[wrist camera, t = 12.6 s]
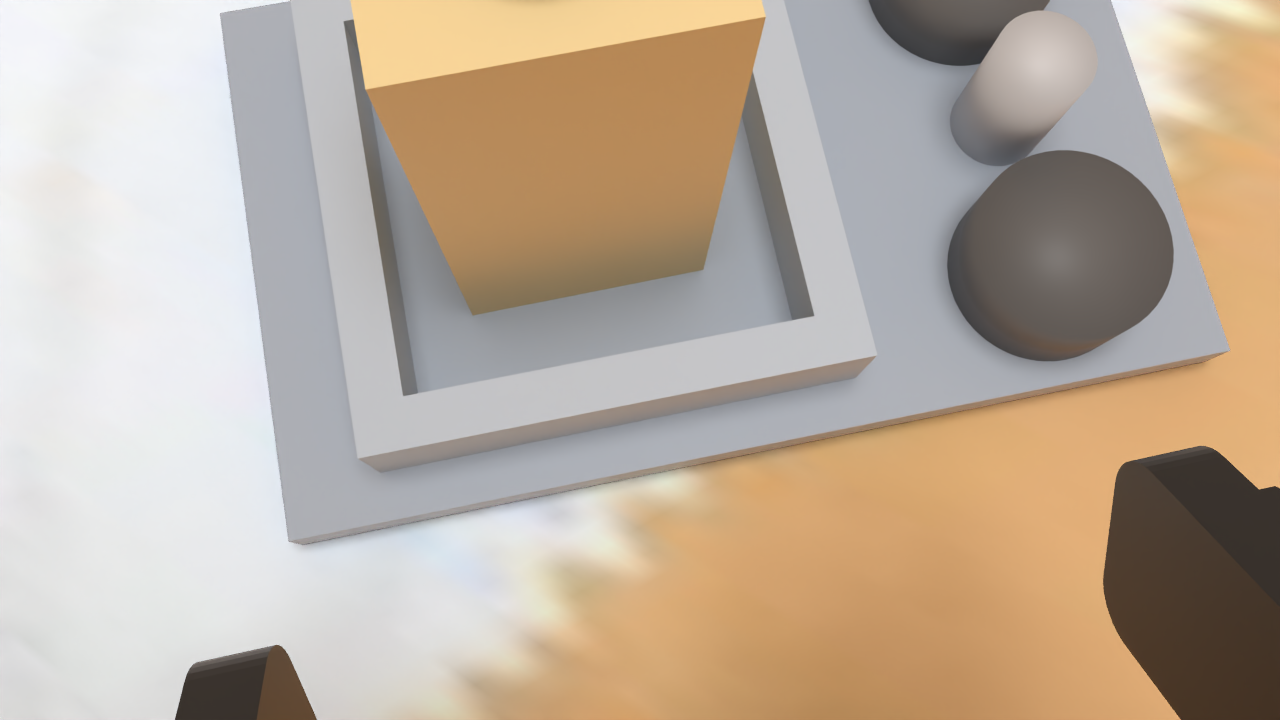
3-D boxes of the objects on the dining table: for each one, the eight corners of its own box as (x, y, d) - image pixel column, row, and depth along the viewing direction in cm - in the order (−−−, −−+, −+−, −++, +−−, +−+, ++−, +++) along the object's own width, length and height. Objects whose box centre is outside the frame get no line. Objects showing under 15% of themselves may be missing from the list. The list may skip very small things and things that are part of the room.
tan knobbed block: (472, 315, 23) (349, 56, 12) (440, 143, 24) (301, -235, 13) (703, 269, 23) (775, -21, 13) (663, 102, 24) (699, -299, 14)
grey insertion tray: (302, 544, 23) (237, 529, 19) (235, 36, 25) (165, -70, 21) (1205, 361, 24) (1319, 311, 20) (1049, -103, 27) (1123, -226, 23)
